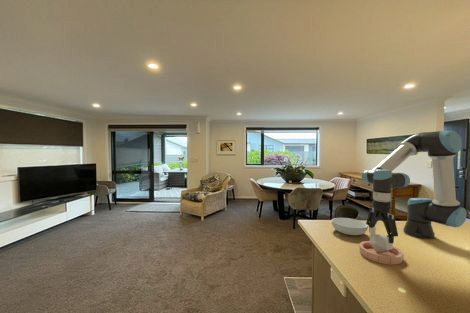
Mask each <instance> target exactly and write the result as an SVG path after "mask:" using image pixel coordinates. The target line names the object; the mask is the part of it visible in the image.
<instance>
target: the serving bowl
mask: <svg viewBox="0 0 470 313" xmlns="http://www.w3.org/2000/svg"><path fill="white" fill-rule="evenodd" d="M331 225H332V228H333V229H334V230H336V232H338V233H341V234H344V235H347V236H361V235H363V234H365V233H366V232H367V231H368V228H369V225H367V224H366V222H364V221H363V220H359V219H355V218H349V217H335V218H332V219H331Z"/></svg>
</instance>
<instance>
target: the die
mask: <svg viewBox="0 0 470 313" xmlns="http://www.w3.org/2000/svg"><path fill="white" fill-rule="evenodd" d="M369 241H370V242H369V244H370V245H371V246H372V247H373V249H374V250H375V251H376V252H377V253H387V252H388V251H389V250H387V249H386V235H385V234H381V233H380V234H374V235H373V236H372V238H371V240H370V239H369Z"/></svg>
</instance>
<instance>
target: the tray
mask: <svg viewBox="0 0 470 313" xmlns="http://www.w3.org/2000/svg"><path fill="white" fill-rule="evenodd" d="M369 242H370V240H367V241H366V240H364V241H363V240H362V241H361V242H360V243H358V250H359V254H360V255H362V256H363V257H364V258H366V259H368V260H370V261H373V262H375V263H378V264H382V265H383V264H384V265H389V266H390V265H391V266H396V265H401V264H403V260H404V259H405V258H404V257H405V256H404V253H403V251H402V250H401V249H399V248H397V247H396V246H394V245H393V249H389V251H388V252H387V253H377V252H376V251H375V250H374V249H373V247H372V246H371V245H370V244H369Z"/></svg>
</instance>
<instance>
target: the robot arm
mask: <svg viewBox="0 0 470 313" xmlns="http://www.w3.org/2000/svg"><path fill="white" fill-rule="evenodd" d="M462 147H463V141H462V138H461V136H460V134H459V133H457V132H456V131H454V130H439V131H437V130H436V131H424V132H418V133H416V134H414V135H413V134H412V135H411V136H409V137H407V138H405V139H404V140H403V141H402V142H400V143H399V144H398V147H397V148H396V149H395V150H393V151H391V153H390V154H389V155H388V156H386V157H385V158H384V159H382V161H380V162H379V163H378V164H377V165H375V166H374V167H373V168H372V169H371V170H370V169H368V170H367V169H366V170H364V171H362V173H361V180H362V181H363V183H365V184H370V185H373V187H372V188H373V190H372V199H373V200H372V207H369V208H368V210H369V211H368V215H367V218H366V222H365V223H366V224H367V225H368V228H369V241H370V240H371V238H372V236H373V235H374V234H376V233H377V232H376V229H377V228H376V225H377V223H378V222H379V220H380V221H382V222H383V225H384V228H385V231H386V232H387V235H385V236H386V249H387V250H389V249H393V246H394V239H395V237H399V233H398V228H397V227H398V226H397V223H396V214H391V213H390V210H391V209H392V189H398V188H399V189H402V188H406V187H408V186H409V185H410V183H411V178H410V176H409V175H408V174H406V173H404V172H393V171H394V170H395V169H396V168H398V167H399V166H400V165H401V164H403V162H405V161H406V160H407V159H408V158H409V157H411V156H414V155H416V154H418V153H427V156H428V157H429V158H430V159H431V163H432V164H431V165H432V175H433V176H432V178H433V189H434V191H433V192H434V199H432V198H427V197H410V198H409V199H408V200H407V215H406V216H407V217H406V218H407V219H406V222H405V225H404V226H403V233H404V234H406V235H408V236H412V237H414V238H420V239H425V240H426V239H427V240H432V239H435V238H436V236H435V232H434V228H433V226H432V223H436V224H441V225H442V226H443V225H444V226H446V227H451V228H459V227H461V226H462V225H463V224H464V223H465V221H466V220H467V215H468V214H467V209H466V208H464V207H462V206H461V202H460V201H459V200H457V196H456V195H457V194H456V183H455V167H454V157H456V156H457V154H458V152H460V151H461V149H462Z"/></svg>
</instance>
